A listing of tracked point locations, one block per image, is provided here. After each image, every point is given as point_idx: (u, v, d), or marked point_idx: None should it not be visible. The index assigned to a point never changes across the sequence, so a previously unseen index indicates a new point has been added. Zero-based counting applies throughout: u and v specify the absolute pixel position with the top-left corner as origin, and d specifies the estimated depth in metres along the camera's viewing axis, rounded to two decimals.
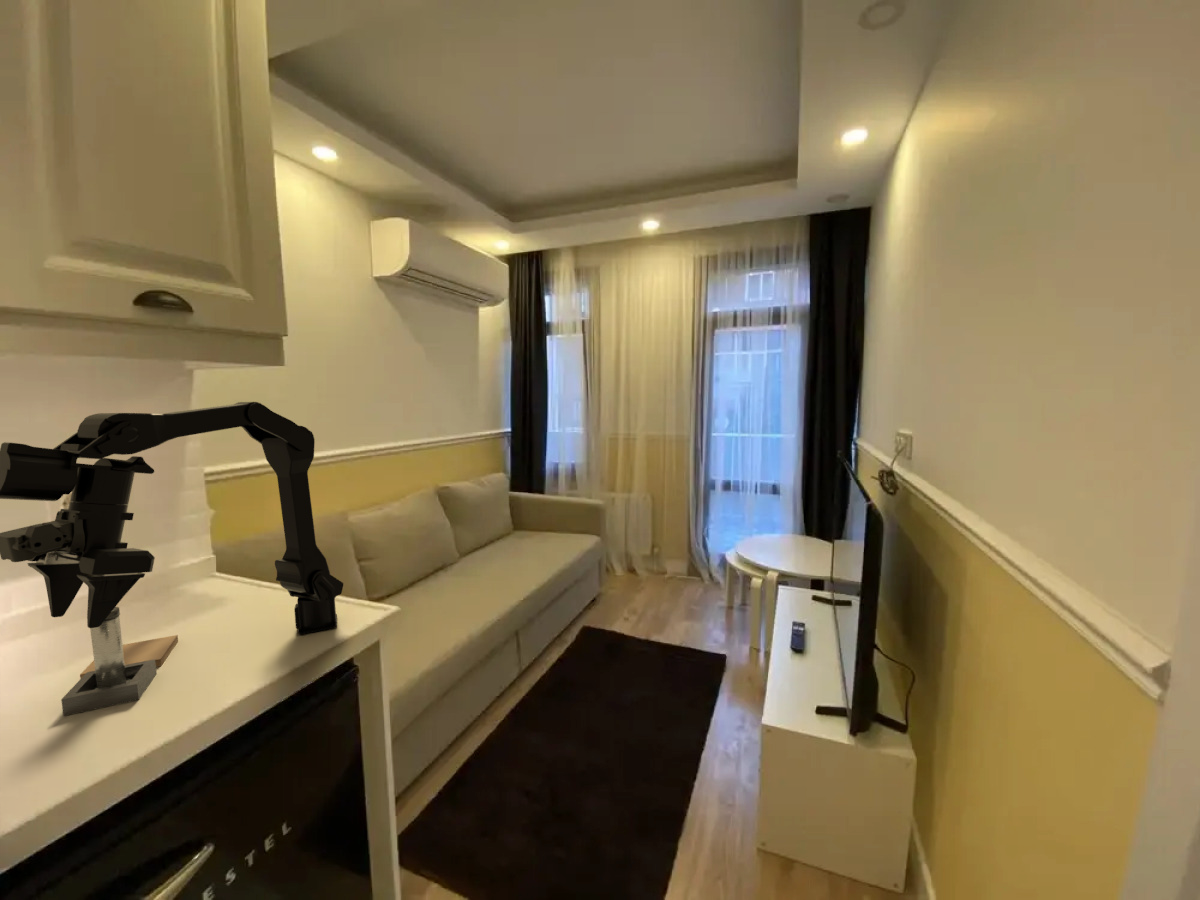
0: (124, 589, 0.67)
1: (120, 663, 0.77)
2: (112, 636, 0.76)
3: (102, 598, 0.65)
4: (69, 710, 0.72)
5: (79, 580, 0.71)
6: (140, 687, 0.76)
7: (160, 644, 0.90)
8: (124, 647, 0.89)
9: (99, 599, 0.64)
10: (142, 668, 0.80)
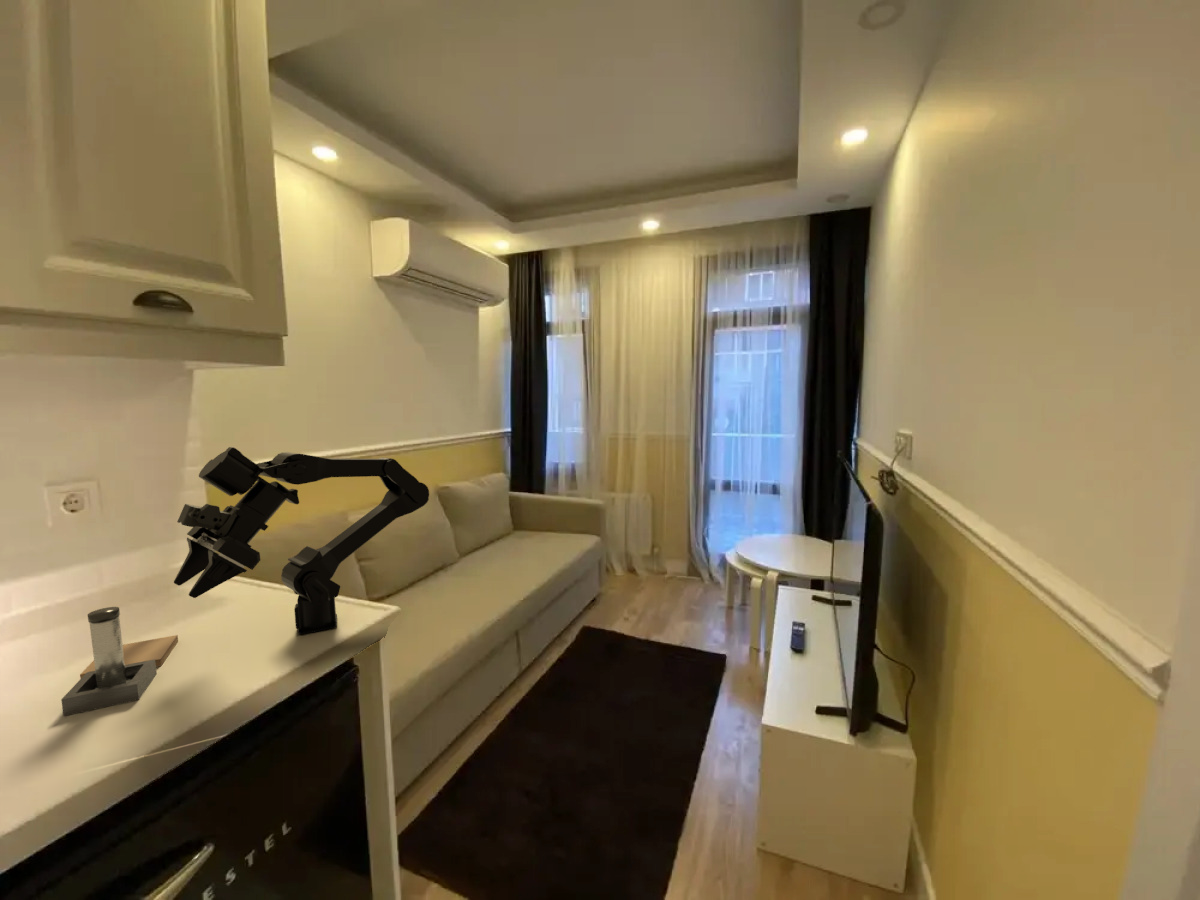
0: (227, 576, 0.83)
1: (120, 663, 0.77)
2: (112, 636, 0.76)
3: (211, 576, 0.81)
4: (69, 710, 0.72)
5: (206, 564, 0.89)
6: (140, 687, 0.76)
7: (160, 644, 0.90)
8: (124, 647, 0.89)
9: (208, 575, 0.81)
10: (142, 668, 0.80)
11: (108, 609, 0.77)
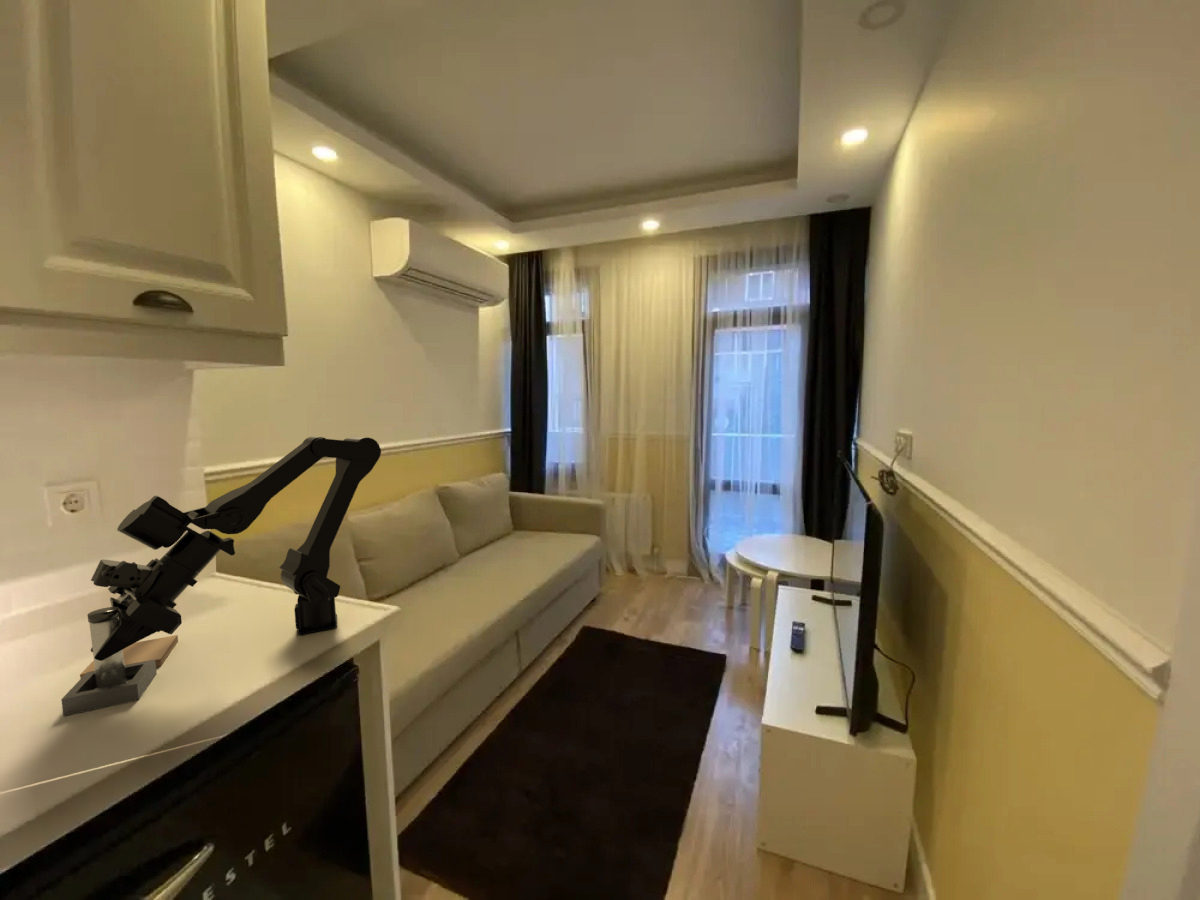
0: (139, 636, 0.77)
1: (120, 663, 0.77)
2: None
3: (120, 636, 0.75)
4: (69, 710, 0.72)
5: None
6: (140, 687, 0.76)
7: (160, 644, 0.90)
8: None
9: (117, 636, 0.75)
10: (142, 668, 0.80)
11: (108, 609, 0.77)
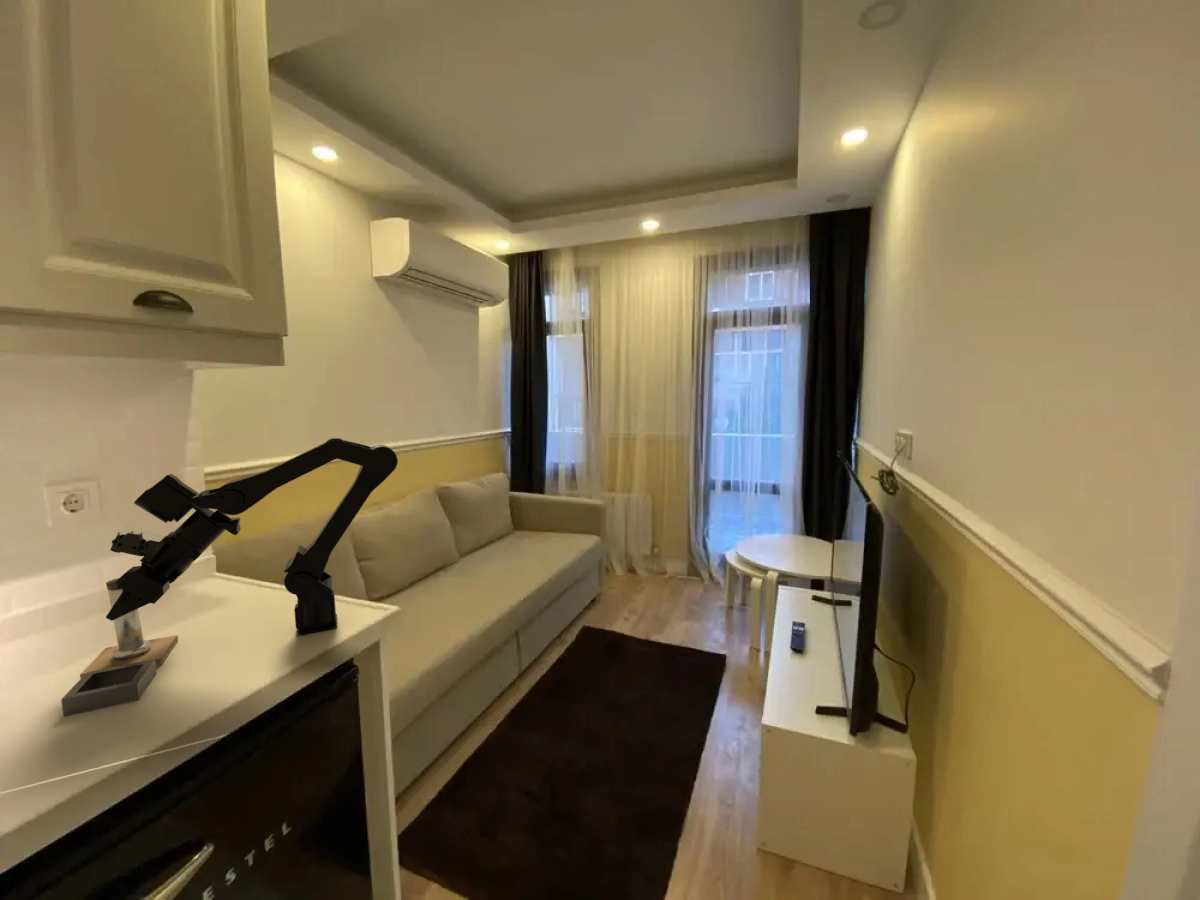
0: (140, 603, 0.83)
1: (133, 627, 0.86)
2: None
3: (124, 601, 0.83)
4: (69, 710, 0.72)
5: None
6: (140, 687, 0.76)
7: (160, 644, 0.90)
8: None
9: (122, 601, 0.82)
10: (142, 668, 0.80)
11: None
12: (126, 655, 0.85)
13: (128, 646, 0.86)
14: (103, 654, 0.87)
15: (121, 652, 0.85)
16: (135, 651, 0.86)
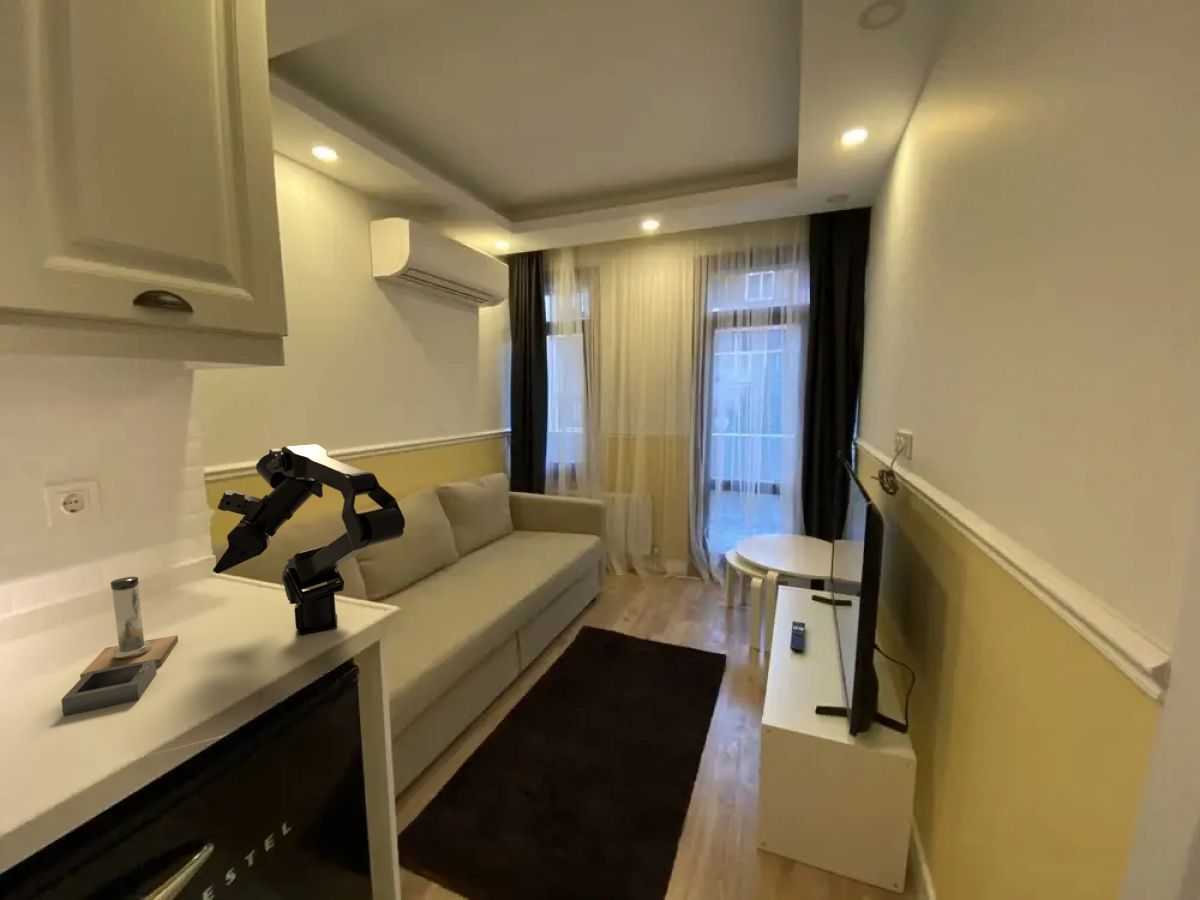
0: (243, 558, 0.92)
1: (135, 628, 0.86)
2: (126, 603, 0.85)
3: (229, 556, 0.91)
4: (69, 710, 0.72)
5: None
6: (140, 687, 0.76)
7: (160, 644, 0.90)
8: None
9: (227, 555, 0.91)
10: (142, 668, 0.80)
11: (129, 578, 0.87)
12: (126, 656, 0.85)
13: (129, 647, 0.86)
14: (103, 654, 0.87)
15: (121, 652, 0.85)
16: (135, 652, 0.86)
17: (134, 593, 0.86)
